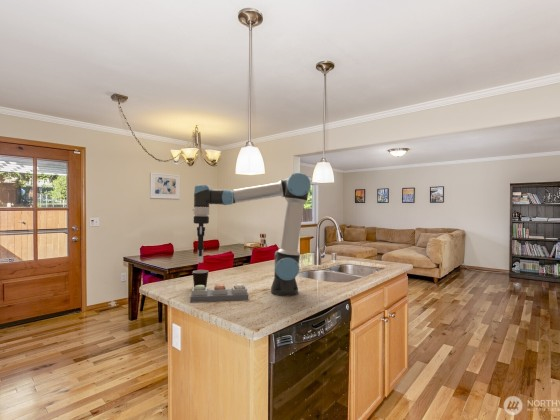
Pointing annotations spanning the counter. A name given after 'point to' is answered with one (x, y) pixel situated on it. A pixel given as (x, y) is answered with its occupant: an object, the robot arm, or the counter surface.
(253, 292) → the counter surface
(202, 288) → the button sage
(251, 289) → the counter surface
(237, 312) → the counter surface
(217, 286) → the button terracotta
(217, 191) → the robot arm
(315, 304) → the counter surface
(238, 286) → the button cream
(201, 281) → the coffee mug
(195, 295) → the button panel
